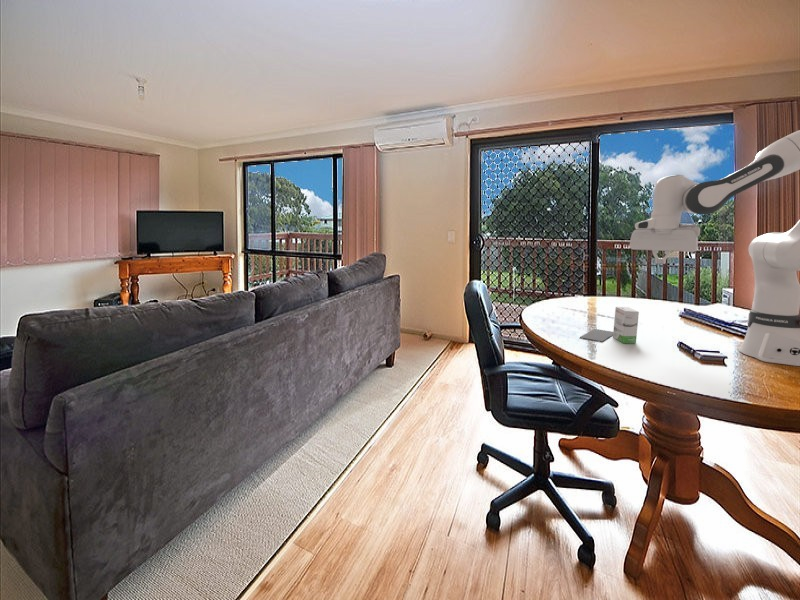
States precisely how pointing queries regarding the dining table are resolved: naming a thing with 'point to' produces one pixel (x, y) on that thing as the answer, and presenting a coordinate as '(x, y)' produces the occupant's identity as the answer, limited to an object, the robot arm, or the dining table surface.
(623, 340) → the ink box
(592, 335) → the mat
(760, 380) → the dining table surface
